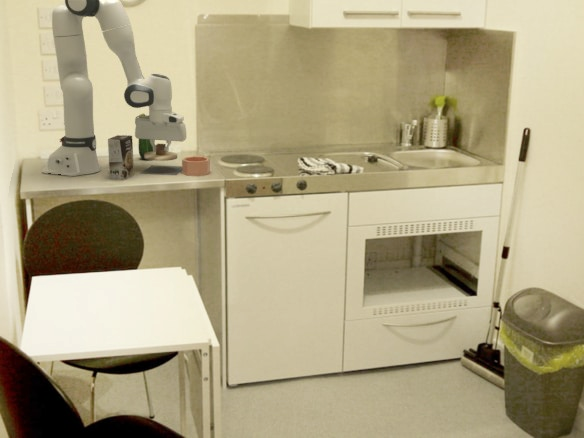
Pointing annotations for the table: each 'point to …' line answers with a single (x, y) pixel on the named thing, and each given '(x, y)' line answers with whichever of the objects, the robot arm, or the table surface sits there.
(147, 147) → the vegetable
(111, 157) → the coffee box
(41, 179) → the table surface
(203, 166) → the bowl
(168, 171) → the mat
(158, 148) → the lid
